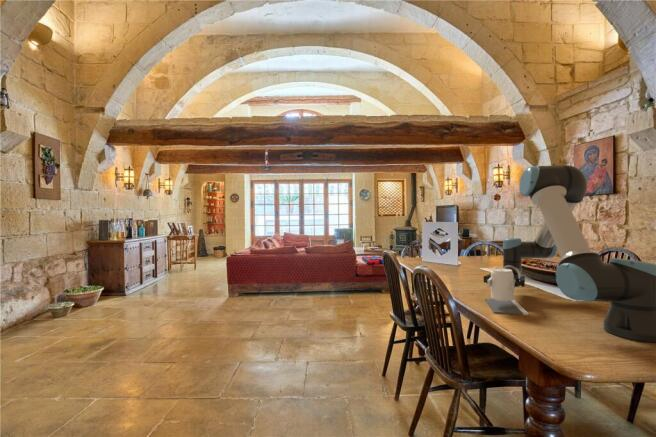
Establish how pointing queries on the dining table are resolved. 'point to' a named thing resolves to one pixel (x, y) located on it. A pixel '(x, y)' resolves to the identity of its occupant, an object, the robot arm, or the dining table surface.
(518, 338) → the dining table surface
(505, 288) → the beverage can
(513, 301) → the mat
